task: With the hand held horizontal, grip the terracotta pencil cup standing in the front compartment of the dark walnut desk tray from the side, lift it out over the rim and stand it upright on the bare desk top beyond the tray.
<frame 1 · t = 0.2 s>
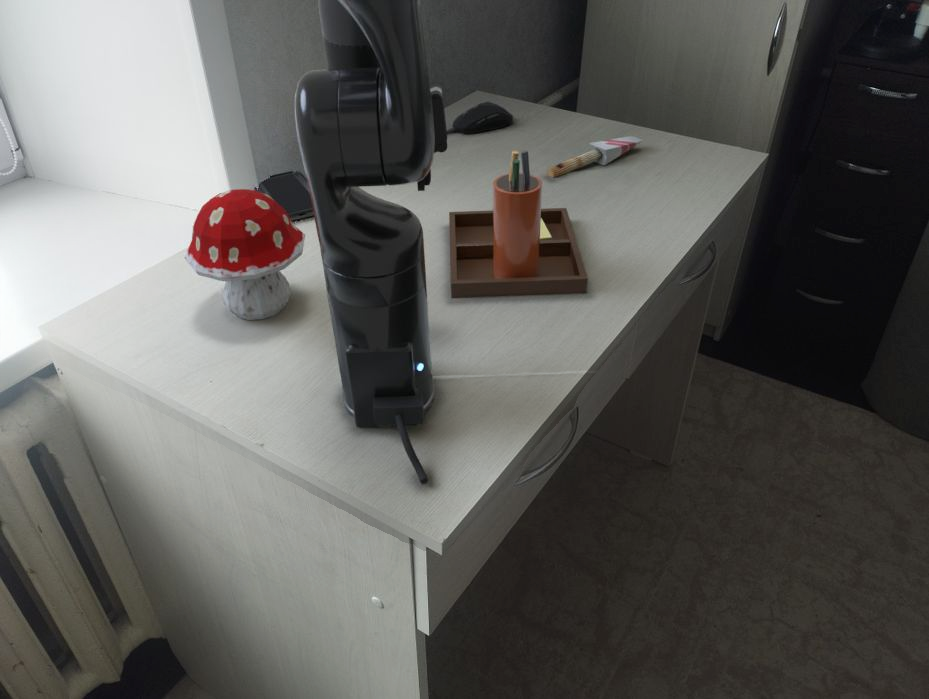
hand: (380, 188, 78), 17 cm above the table, tool pointing down, fingers open, 8 cm apart
divider: (513, 249, 99), in the tray, point 1 cm above the table
pencil cup: (515, 274, 96), resting on tray
tray: (512, 259, 100), on the table
wrapped churro: (594, 163, 125), on the table
phone: (289, 199, 116), on the table
gaming mouse: (476, 128, 139), on the table
note pad: (524, 238, 104), resting on tray
decorative mushroom: (260, 307, 93), on the table
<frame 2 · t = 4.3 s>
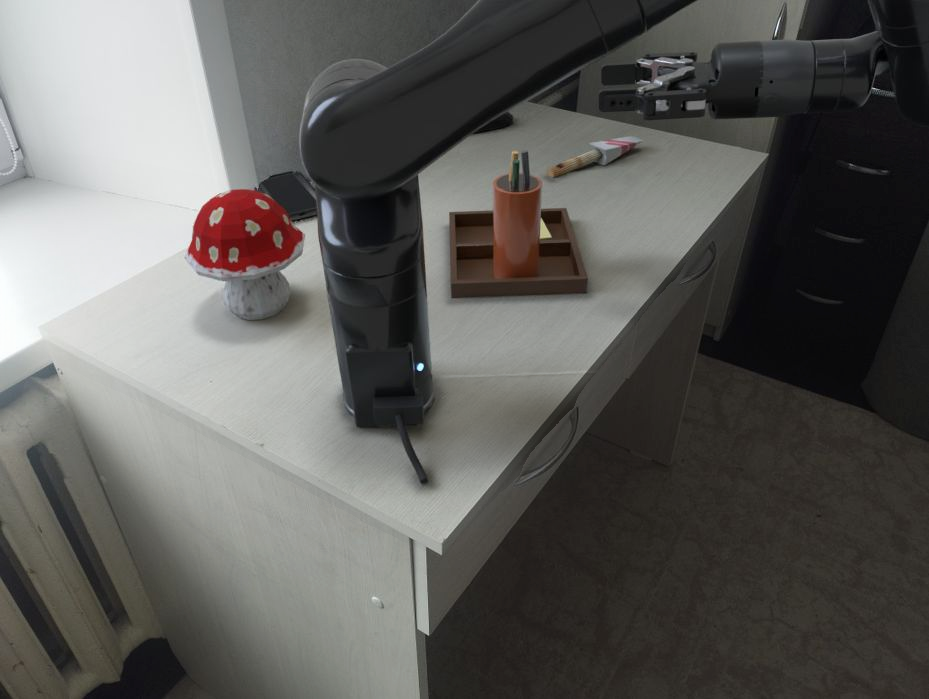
hand: (600, 87, 81), 24 cm above the table, tool horizontal, fingers open, 8 cm apart
nothing on the table moved.
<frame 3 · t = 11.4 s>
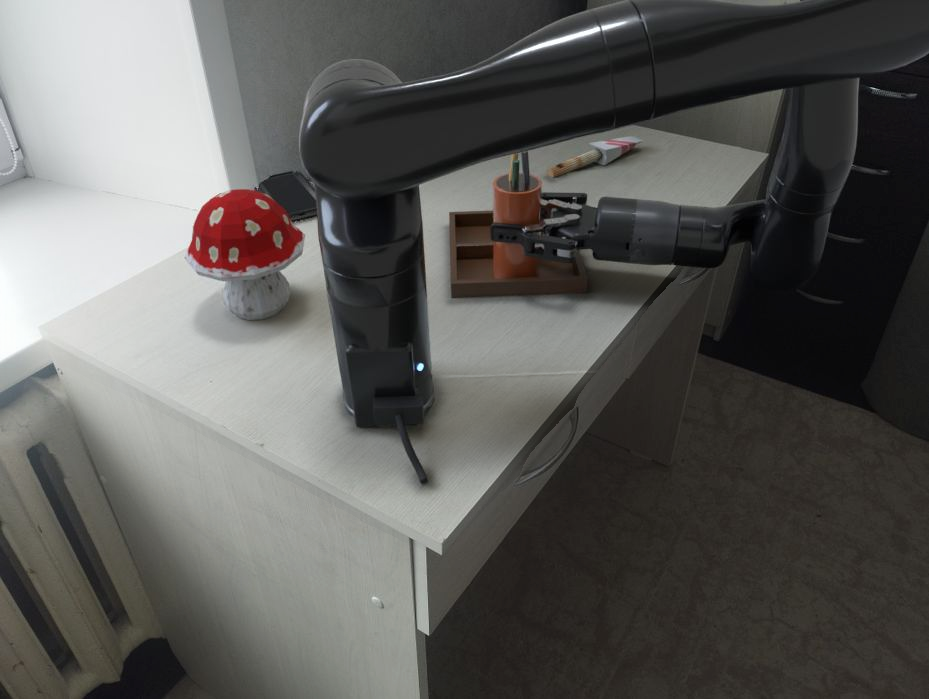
hand: (496, 219, 92), 8 cm above the table, tool horizontal, fingers closed on pencil cup, 6 cm apart
pencil cup: (515, 273, 96), point 1 cm above the table, touching gripper, tray
everything else where it was.
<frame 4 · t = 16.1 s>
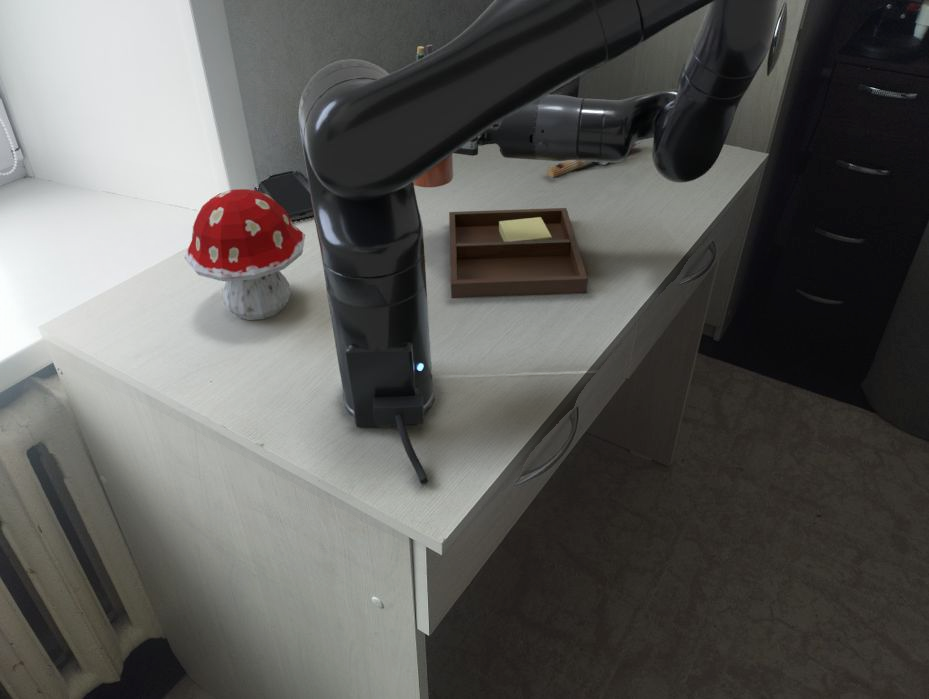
hand: (408, 119, 93), 18 cm above the table, tool horizontal, fingers closed on pencil cup, 6 cm apart
pencil cup: (430, 177, 97), point 10 cm above the table, touching gripper
everything else where it was.
when the fingers open (7 cm above the table, at t = 20.6 s): pencil cup stays where it is, on the table.
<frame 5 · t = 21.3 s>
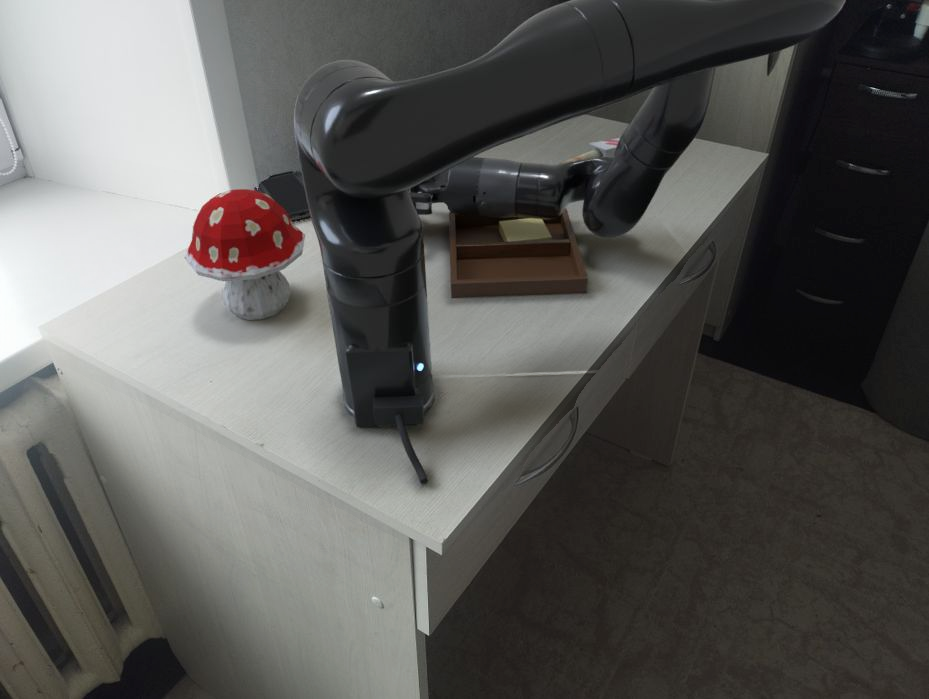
hand: (369, 178, 102), 8 cm above the table, tool horizontal, fingers open, 8 cm apart
pencil cup: (389, 232, 107), on the table
everything else where it was.
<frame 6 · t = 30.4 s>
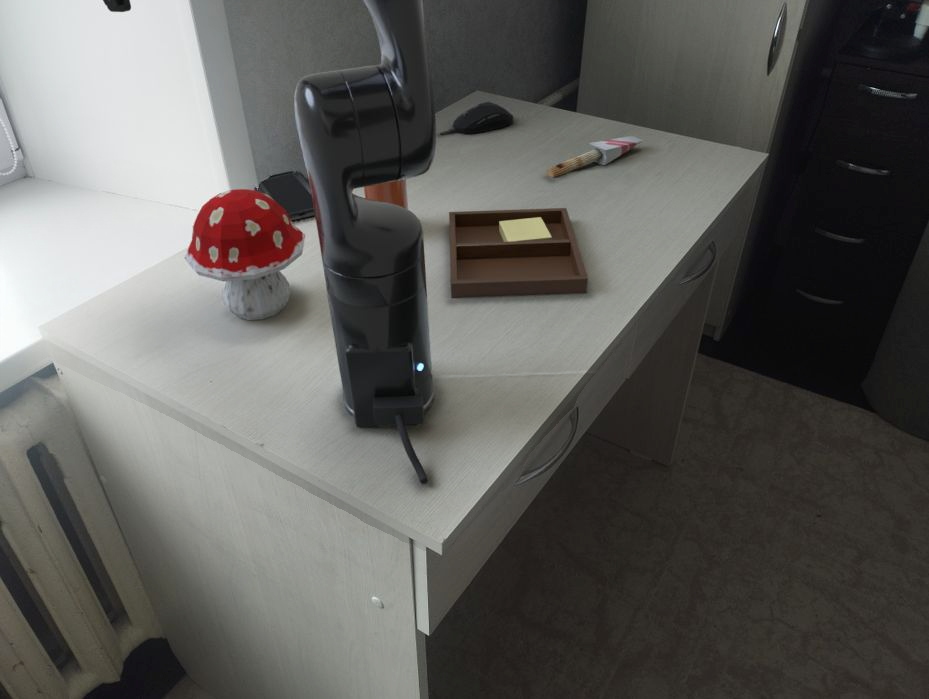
hand: (152, 4, 73), 34 cm above the table, tool pointing down, fingers open, 8 cm apart
nothing on the table moved.
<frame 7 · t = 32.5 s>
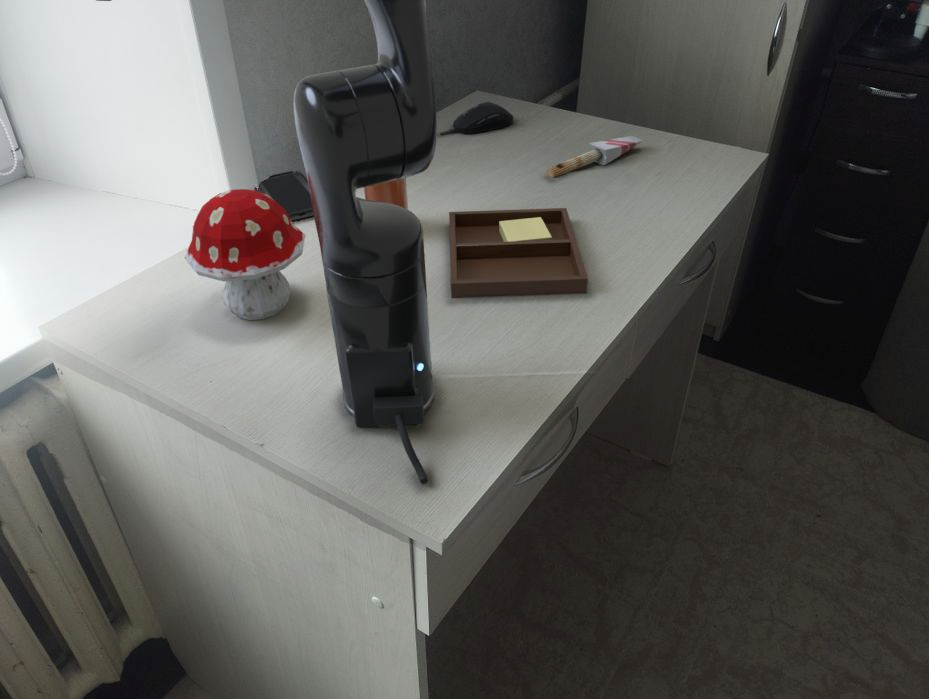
nothing on the table moved.
at the end: pencil cup inside the target area (0.1 cm from its centre), on the table; pencil cup tilted 0°; the gripper is holding nothing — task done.
